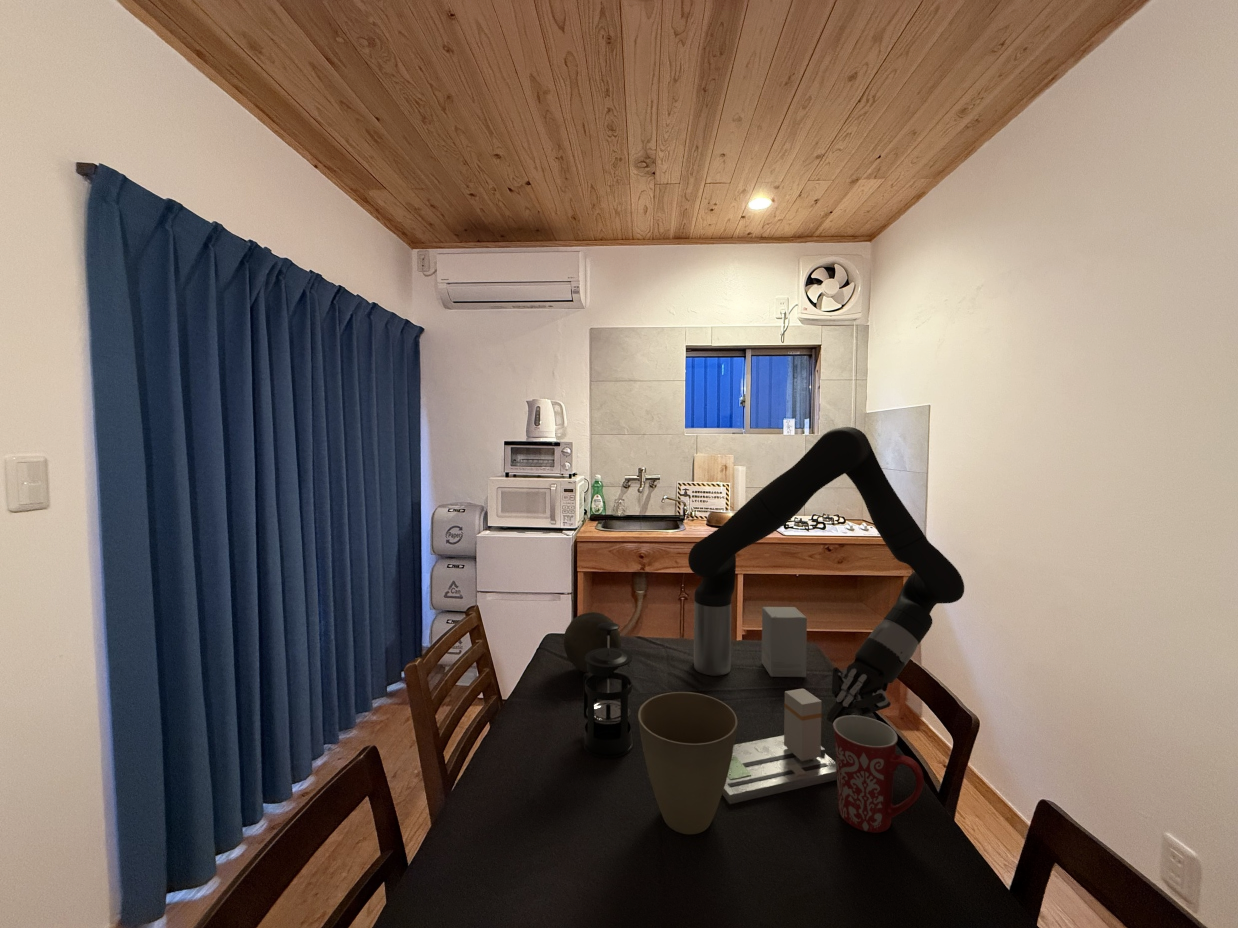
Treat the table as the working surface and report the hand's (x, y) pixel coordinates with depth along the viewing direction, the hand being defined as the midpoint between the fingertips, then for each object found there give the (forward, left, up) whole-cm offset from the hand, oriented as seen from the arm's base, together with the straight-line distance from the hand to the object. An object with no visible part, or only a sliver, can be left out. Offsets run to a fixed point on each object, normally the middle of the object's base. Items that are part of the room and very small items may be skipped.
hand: (832, 723), depth 94 cm
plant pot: (+7, -32, -6) cm, 33 cm away
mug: (+16, -5, -6) cm, 18 cm away
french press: (-16, -38, -6) cm, 42 cm away
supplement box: (-34, +14, -6) cm, 37 cm away
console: (0, -13, -6) cm, 15 cm away
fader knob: (0, -6, -4) cm, 8 cm away
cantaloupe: (-46, -33, -6) cm, 57 cm away
